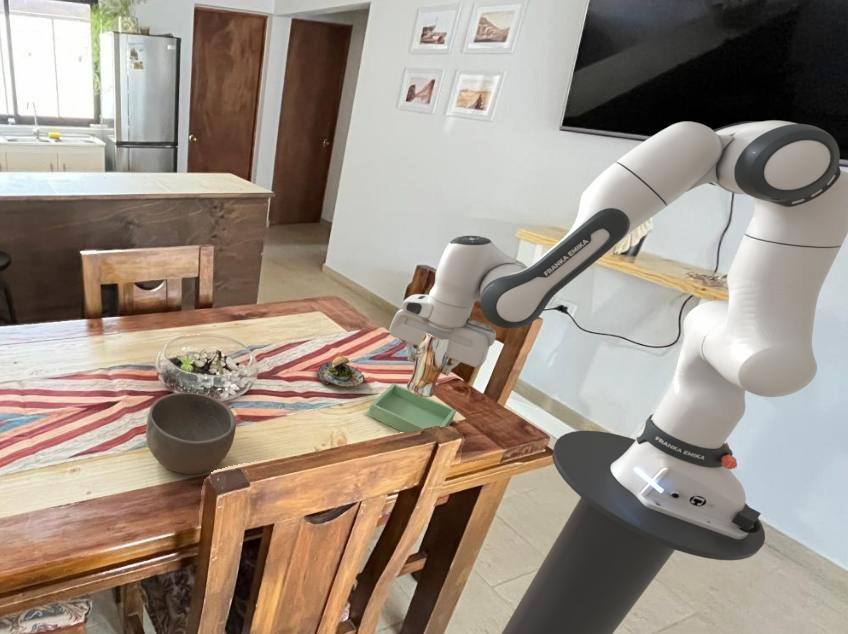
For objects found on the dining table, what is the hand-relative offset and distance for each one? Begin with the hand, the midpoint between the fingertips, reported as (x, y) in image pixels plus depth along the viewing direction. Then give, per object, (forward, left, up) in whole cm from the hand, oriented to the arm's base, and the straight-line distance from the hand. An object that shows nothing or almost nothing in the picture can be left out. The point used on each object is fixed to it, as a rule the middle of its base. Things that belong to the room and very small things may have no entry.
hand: (427, 367), depth 115 cm
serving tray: (0, 0, -14) cm, 14 cm away
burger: (+20, -3, -14) cm, 25 cm away
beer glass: (0, 0, -6) cm, 6 cm away
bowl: (+28, +48, -14) cm, 57 cm away
